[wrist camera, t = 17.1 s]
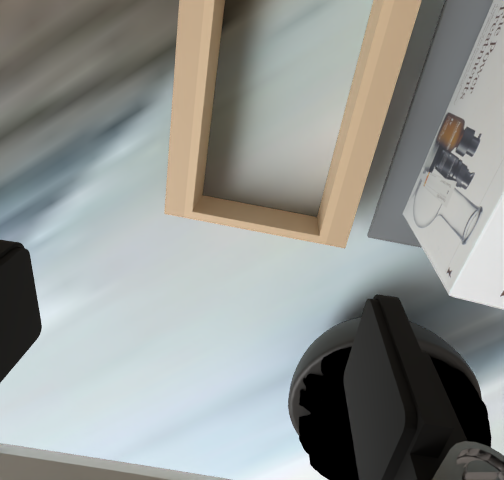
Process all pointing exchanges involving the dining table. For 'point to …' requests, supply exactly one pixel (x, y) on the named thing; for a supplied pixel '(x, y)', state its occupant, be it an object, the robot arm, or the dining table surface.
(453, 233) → the skincare box
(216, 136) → the dining table surface
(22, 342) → the robot arm
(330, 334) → the coal bowl
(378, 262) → the dining table surface
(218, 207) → the wooden frame
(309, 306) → the dining table surface
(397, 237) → the mat
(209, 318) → the dining table surface
